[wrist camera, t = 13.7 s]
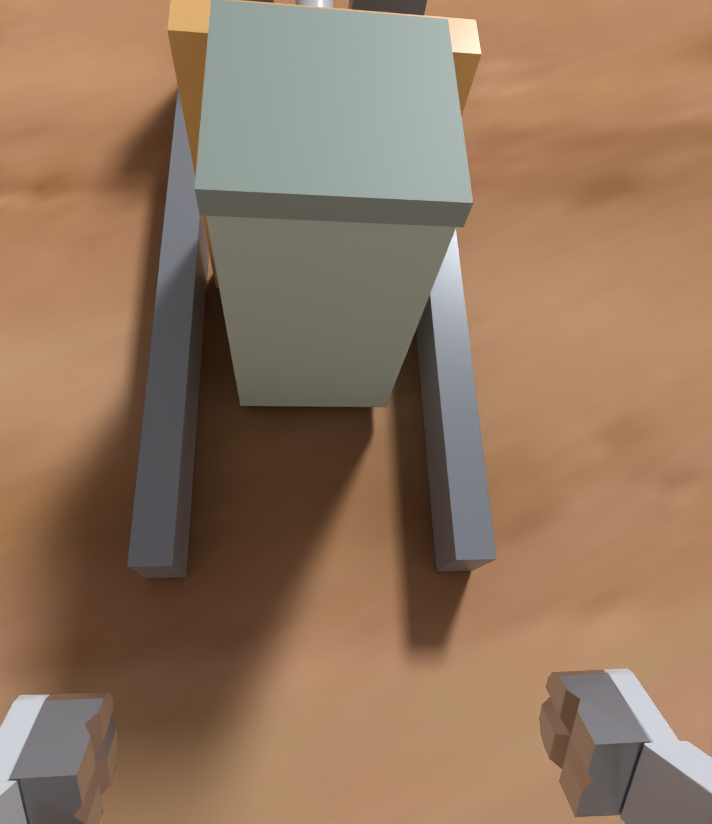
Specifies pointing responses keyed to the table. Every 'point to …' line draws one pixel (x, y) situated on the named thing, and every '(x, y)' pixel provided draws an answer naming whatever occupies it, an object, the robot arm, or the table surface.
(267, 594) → the table surface
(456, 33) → the pusher
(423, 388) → the lane
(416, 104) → the tin
